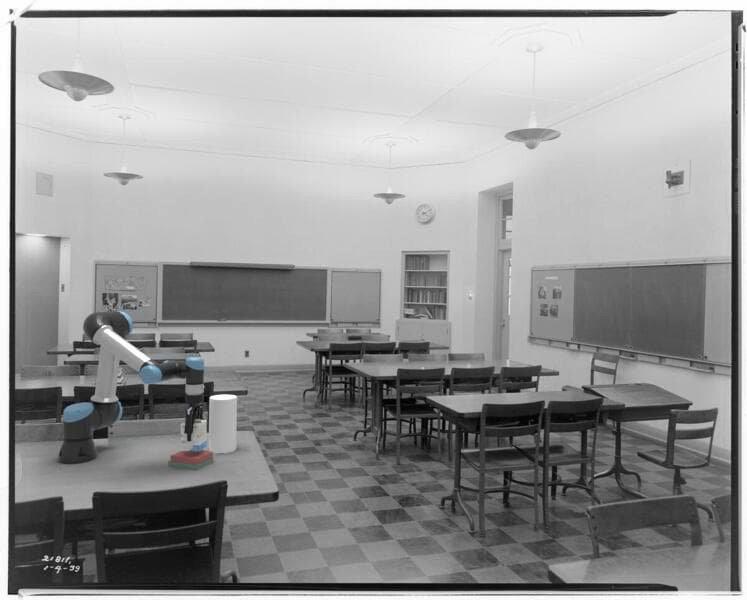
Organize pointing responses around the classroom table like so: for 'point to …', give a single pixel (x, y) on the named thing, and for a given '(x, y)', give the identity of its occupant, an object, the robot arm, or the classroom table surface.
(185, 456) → the book stack
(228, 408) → the cylinder
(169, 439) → the classroom table surface
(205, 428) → the ink box
